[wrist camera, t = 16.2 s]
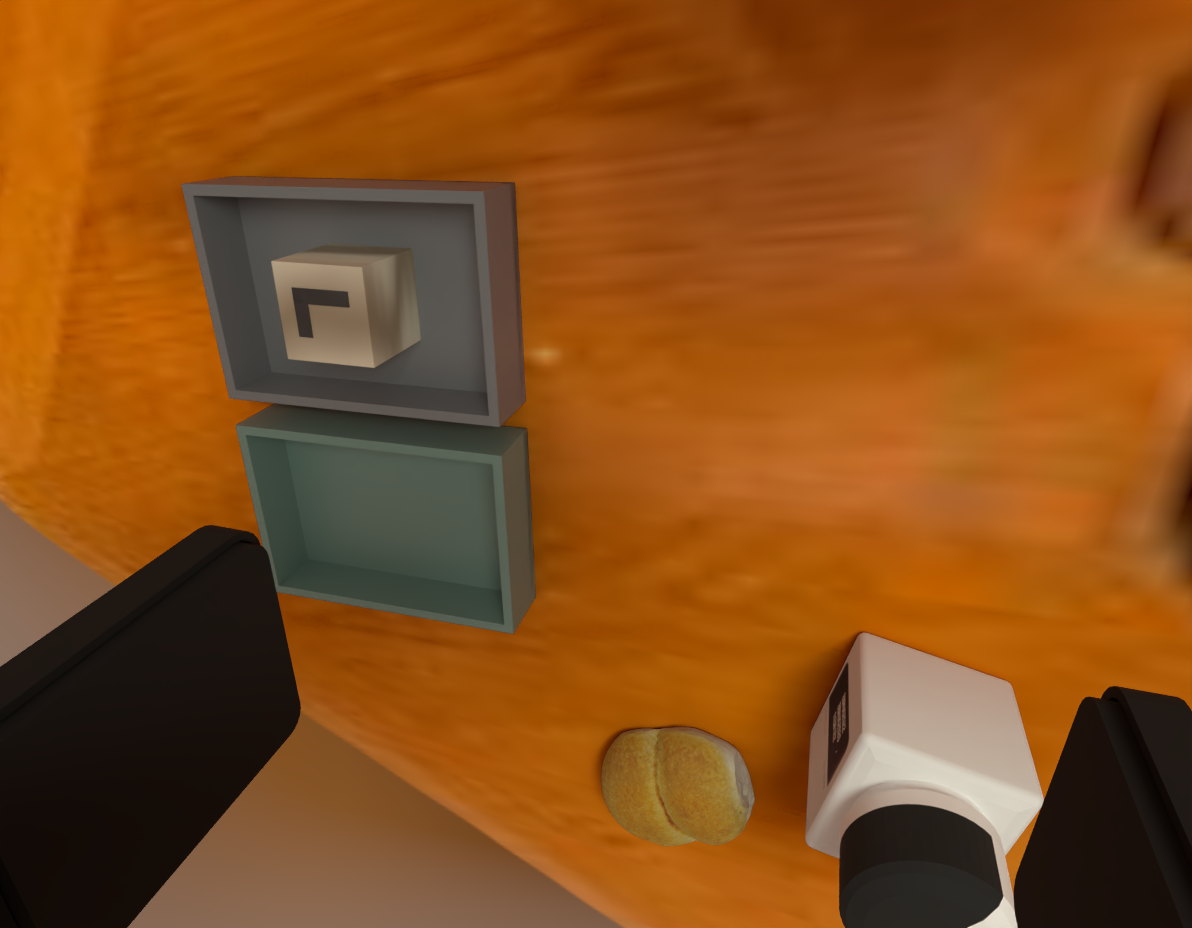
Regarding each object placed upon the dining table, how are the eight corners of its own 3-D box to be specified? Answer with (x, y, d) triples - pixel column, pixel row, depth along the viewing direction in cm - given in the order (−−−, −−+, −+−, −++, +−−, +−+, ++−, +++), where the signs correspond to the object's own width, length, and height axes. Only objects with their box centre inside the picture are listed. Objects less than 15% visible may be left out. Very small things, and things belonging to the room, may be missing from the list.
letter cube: (328, 243, 38) (269, 261, 34) (412, 248, 37) (361, 267, 33) (340, 332, 40) (286, 359, 36) (421, 339, 39) (373, 368, 35)
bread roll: (590, 725, 48) (570, 774, 45) (730, 713, 45) (721, 766, 41) (633, 823, 51) (617, 877, 48) (768, 819, 48) (762, 877, 44)
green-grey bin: (277, 401, 44) (235, 425, 41) (527, 428, 40) (501, 456, 37) (308, 560, 49) (272, 591, 46) (535, 597, 45) (513, 633, 42)
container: (808, 731, 44) (796, 955, 32) (859, 627, 40) (866, 838, 29) (948, 783, 43) (985, 1034, 31) (1014, 680, 39) (1083, 922, 28)
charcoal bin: (232, 176, 39) (181, 183, 36) (514, 182, 35) (483, 191, 32) (272, 376, 44) (229, 398, 40) (525, 401, 40) (499, 427, 37)
